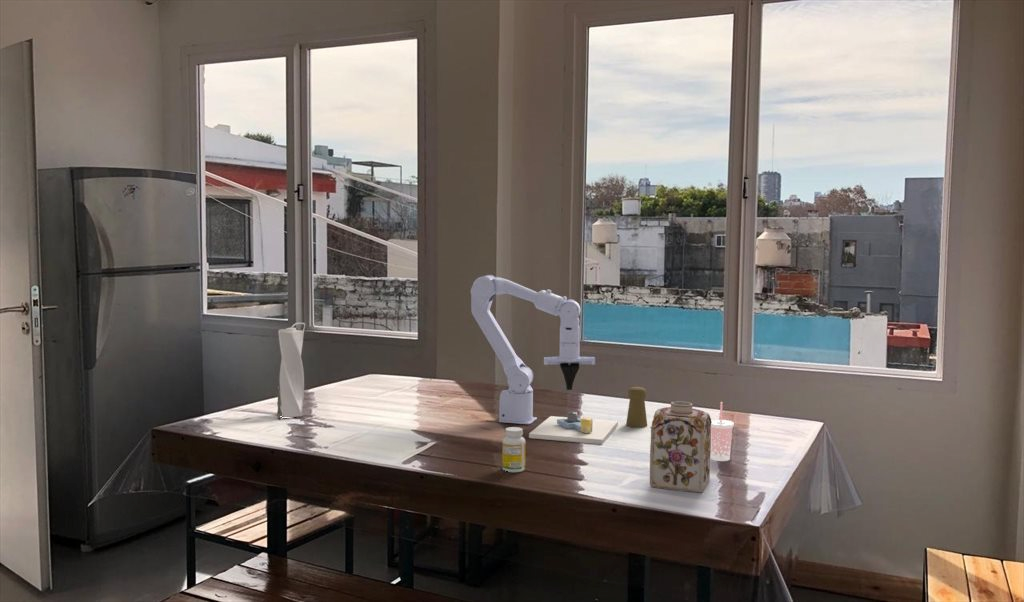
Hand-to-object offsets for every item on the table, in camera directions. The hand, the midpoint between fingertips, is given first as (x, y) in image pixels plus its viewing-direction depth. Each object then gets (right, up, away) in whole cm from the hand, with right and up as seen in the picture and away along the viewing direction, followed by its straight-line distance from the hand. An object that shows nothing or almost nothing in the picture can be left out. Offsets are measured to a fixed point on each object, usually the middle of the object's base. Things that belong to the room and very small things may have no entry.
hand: (569, 389), depth 237 cm
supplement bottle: (-16, -14, -45) cm, 50 cm away
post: (0, -11, -8) cm, 13 cm away
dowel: (+5, -11, -12) cm, 17 cm away
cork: (+19, -10, -1) cm, 22 cm away
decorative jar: (+21, -15, -55) cm, 61 cm away
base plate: (+1, -11, -9) cm, 14 cm away
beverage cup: (+35, -13, -35) cm, 51 cm away
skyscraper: (-82, -9, +8) cm, 83 cm away
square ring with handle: (+2, -9, -11) cm, 14 cm away
